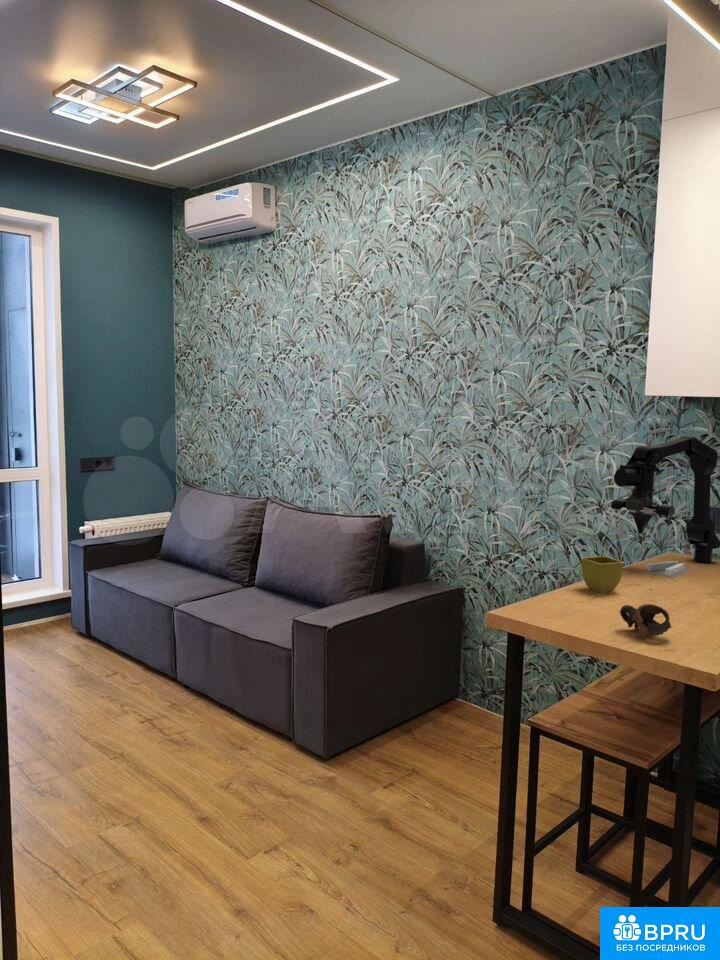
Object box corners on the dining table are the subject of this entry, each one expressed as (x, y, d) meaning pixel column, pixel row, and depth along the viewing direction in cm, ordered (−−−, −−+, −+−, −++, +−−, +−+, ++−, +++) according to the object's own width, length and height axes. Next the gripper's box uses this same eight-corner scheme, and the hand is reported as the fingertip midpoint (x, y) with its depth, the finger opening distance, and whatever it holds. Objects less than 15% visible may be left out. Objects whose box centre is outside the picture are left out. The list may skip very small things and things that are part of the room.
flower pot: (578, 587, 219) (580, 557, 218) (601, 585, 222) (604, 555, 221) (598, 595, 211) (600, 564, 210) (622, 592, 214) (625, 562, 213)
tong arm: (676, 566, 244) (676, 560, 244) (680, 567, 243) (681, 561, 242) (645, 569, 238) (646, 563, 238) (650, 571, 236) (650, 564, 236)
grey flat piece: (663, 567, 248) (664, 558, 248) (691, 572, 242) (691, 563, 241) (643, 575, 236) (644, 565, 236) (672, 580, 230) (672, 571, 230)
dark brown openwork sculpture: (671, 633, 180) (679, 610, 175) (657, 659, 174) (664, 635, 169) (623, 612, 186) (629, 589, 181) (607, 636, 180) (613, 612, 175)
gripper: (605, 484, 240) (601, 532, 242) (663, 491, 227) (659, 541, 229) (620, 482, 248) (616, 528, 250) (677, 488, 235) (673, 537, 237)
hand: (640, 533), depth 241 cm, fingers closed
